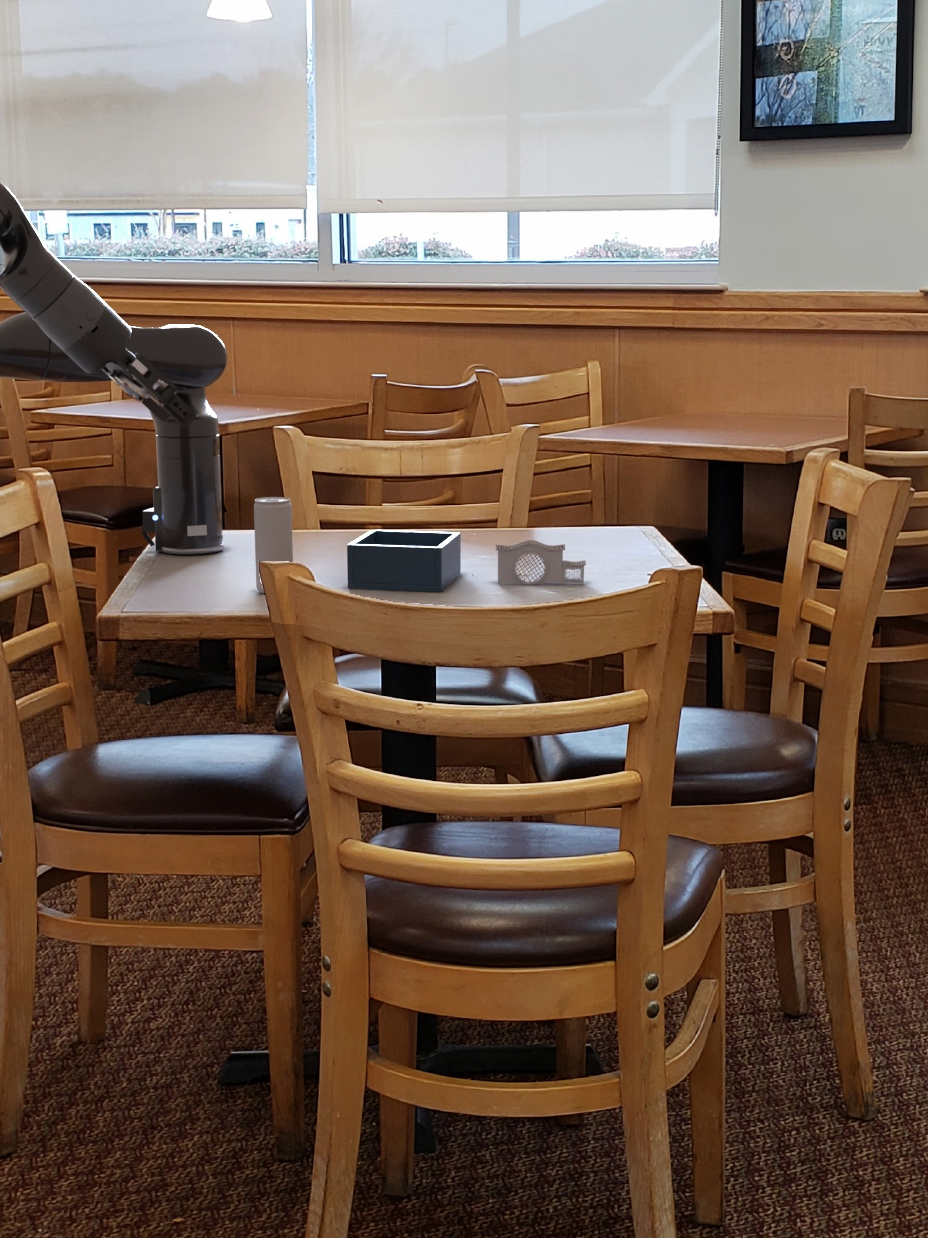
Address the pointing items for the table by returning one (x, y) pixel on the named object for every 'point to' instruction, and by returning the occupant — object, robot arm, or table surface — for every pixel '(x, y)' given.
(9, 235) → the robot arm
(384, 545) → the bin
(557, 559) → the garden wall model
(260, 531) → the beverage can
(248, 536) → the table surface
